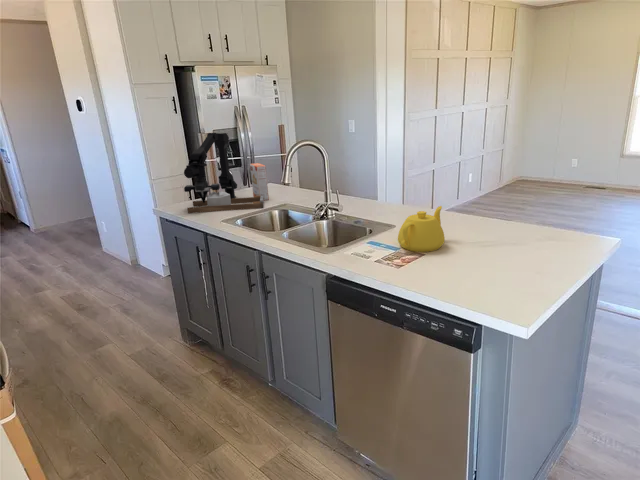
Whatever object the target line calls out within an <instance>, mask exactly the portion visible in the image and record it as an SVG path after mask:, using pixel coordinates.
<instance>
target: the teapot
mask: <svg viewBox="0 0 640 480" xmlns="http://www.w3.org/2000/svg"><path fill="white" fill-rule="evenodd" d="M442 209H443V206H442V205H440V206H438V207H436V209H435V211H434V214H433V215H430V214H427V211H425V210H424V211H422V210H421V211H417V212H416V214H412V215H409V216H408V217H406V219H405V220H404V222H403V223H402V224H401V226H400V228H399V232H398V234H397V242H398V243H399V245H400V246H401V247H402V248H403V249H405V250H407V251H411V252H417V253H429V251H430V252H433V251H437V250H439V249H440V248H441V247H442V246H443V245H444V243H445V238H446V237H445V234H444V233H445V232H444V230H443V227H442V225H441V223H442V222H441V210H442ZM438 248H439V249H438Z"/></svg>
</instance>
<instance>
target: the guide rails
mask: <svg viewBox="0 0 640 480" xmlns="http://www.w3.org/2000/svg"><path fill="white" fill-rule="evenodd" d="M264 204H265V201H264V197H263V195H261V196H254V197H249V196H248V197H239V198H238V197H236V198H234V199H231V205H219V206H208V204H207V199H205V203H203V201H202V200H193V201H192V206H191V207H187V213H188V214H194V213H195V214H198V213H211V212H224V211H225V212H227V211H228V212H229V211H239V210H241V211H242V210H256V209H264Z"/></svg>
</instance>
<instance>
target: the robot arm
mask: <svg viewBox="0 0 640 480" xmlns="http://www.w3.org/2000/svg"><path fill="white" fill-rule="evenodd" d="M229 143H230V136H229V134H227V133H226V132H208V133H207V135H206V137H205V139H204V140H203V141H202V143H201V145H200V146H199V147H198V148H196V149H195V150H193V152H192V153H191V154H190V158H189V161H188V164H187V165H186V167H185V168H184V171H183V174H184V177H185V178H186V179H193V178H195V183H194V185H193V184H188V185H187V184H186V185H185V186H184V189H183V190H184V192H185V193H189V192H191V191H193V190H194V191H195V193H196V194H198V196H199V197H200V199H201V201H203V203H205V200H207V196H208V195H207V194H208V193H209V192H210V189H211V190H212V191H219V190H220V188H221V190H224V192H226V193H228V194H230V198H231V199H234V198H237V196H236V195H235V193H236V192H235V190H236V189H237V188H238V184H237V182H236V181H235V180H234V176H233V174H232V173H231V172H230V163H229V155H228V145H229ZM213 145H215V146H216V148H217V149H218V156H219V164H220V175H219V176H218V183H211V185H209V182H208V180H207V173H206V167H207V165H208V164H207V163H206V160H207V158H208V152H209V150H211V148H212V146H213Z"/></svg>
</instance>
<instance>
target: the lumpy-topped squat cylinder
mask: <svg viewBox="0 0 640 480" xmlns="http://www.w3.org/2000/svg"><path fill="white" fill-rule="evenodd" d="M206 200H207V204H208V206H219V205H232V204H231V198H230V194H228V193H226V192H225V191H219V192H216V191H213V192H211V193H209V195H206Z"/></svg>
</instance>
